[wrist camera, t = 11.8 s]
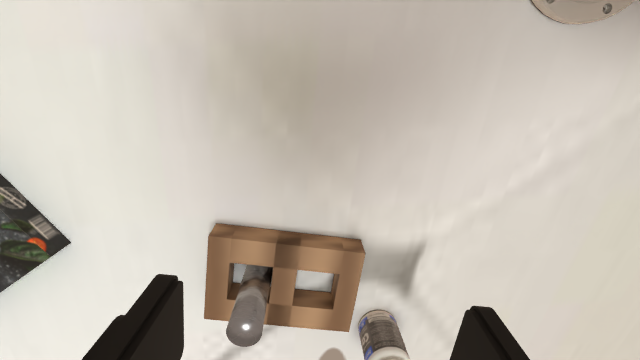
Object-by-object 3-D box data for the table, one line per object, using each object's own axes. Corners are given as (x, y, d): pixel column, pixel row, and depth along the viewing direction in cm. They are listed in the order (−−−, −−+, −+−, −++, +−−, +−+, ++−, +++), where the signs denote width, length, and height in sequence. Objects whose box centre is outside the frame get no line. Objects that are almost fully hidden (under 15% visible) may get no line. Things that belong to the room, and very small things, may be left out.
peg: (274, 257, 37) (263, 319, 28) (271, 280, 38) (260, 348, 29) (247, 254, 37) (227, 316, 28) (245, 277, 38) (225, 345, 28)
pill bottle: (354, 313, 40) (367, 372, 32) (393, 305, 40) (415, 363, 32) (361, 344, 41) (374, 407, 33) (398, 336, 41) (420, 399, 33)
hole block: (360, 239, 37) (365, 253, 34) (345, 313, 40) (348, 331, 37) (216, 223, 36) (208, 235, 33) (211, 300, 39) (203, 318, 36)
